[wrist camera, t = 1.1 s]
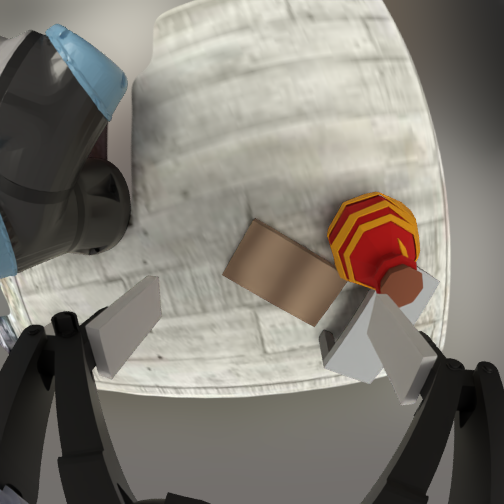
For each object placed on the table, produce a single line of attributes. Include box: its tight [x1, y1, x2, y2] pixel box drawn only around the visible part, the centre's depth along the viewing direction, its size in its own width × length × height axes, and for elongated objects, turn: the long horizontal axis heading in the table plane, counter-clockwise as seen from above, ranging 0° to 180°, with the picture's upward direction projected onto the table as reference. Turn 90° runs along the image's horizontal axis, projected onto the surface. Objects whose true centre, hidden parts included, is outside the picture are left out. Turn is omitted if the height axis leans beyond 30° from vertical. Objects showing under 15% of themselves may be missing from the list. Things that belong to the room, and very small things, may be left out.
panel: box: [222, 218, 347, 327], centre depth 35 cm, size 14×8×3 cm, turn 61°
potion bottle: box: [327, 192, 423, 308], centre depth 26 cm, size 10×10×15 cm
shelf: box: [319, 266, 440, 384], centre depth 32 cm, size 8×16×8 cm, turn 156°
